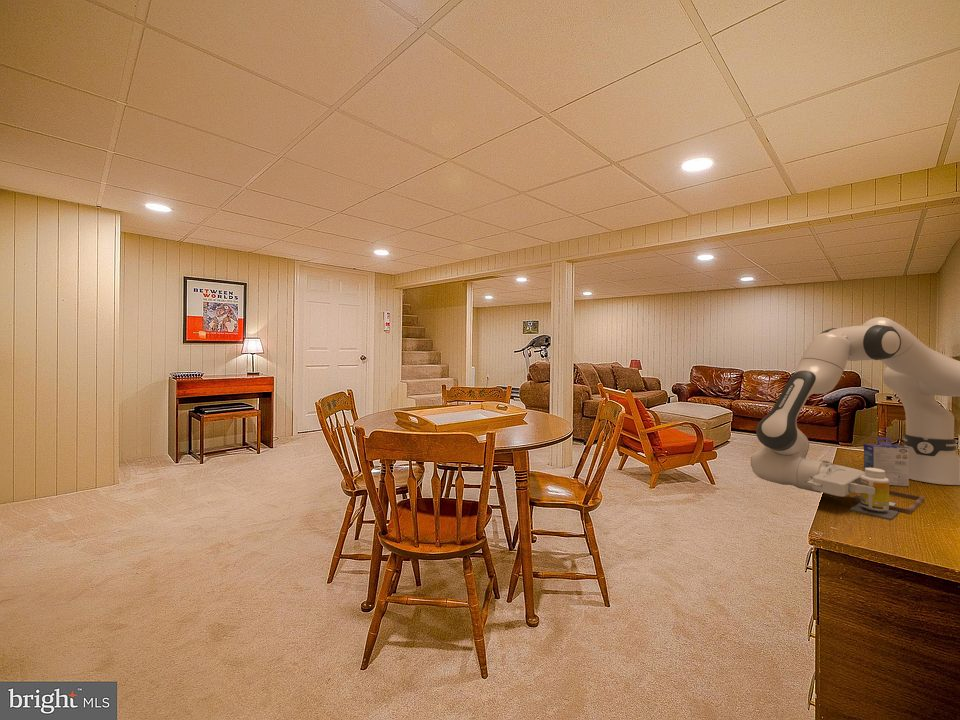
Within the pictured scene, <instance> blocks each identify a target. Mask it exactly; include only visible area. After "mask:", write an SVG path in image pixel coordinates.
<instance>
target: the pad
mask: <svg viewBox="0 0 960 720" xmlns="http://www.w3.org/2000/svg"><path fill="white" fill-rule="evenodd" d="M849 510H850V511H851V512H854V513H855V512H856V513H859V514H863V515H868V516H871V515H872V517H875V516H877V517H876V518H880V517H881V519H884V518H885V520H888V519H889V521H892V520H893V519H894V518H895V517H896V516H898V515H899V514H900V512H898V511H894V510H887V511H875V510H870V509H867V508H864V507H862V506H861V504H860V503H858V502H857V504H856V505H853V506H852V507H850V509H849Z"/></svg>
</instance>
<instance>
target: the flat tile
mask: <svg viewBox="0 0 960 720" xmlns="http://www.w3.org/2000/svg"><path fill="white" fill-rule="evenodd" d="M889 505H892V506H897V503H896V502H893V501H892V502H891V501H889Z"/></svg>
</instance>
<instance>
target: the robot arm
mask: <svg viewBox="0 0 960 720" xmlns="http://www.w3.org/2000/svg"><path fill="white" fill-rule="evenodd" d="M871 360H872V361H873V360H874V361H881V362H882V363H883V364H884V365H885V366H886V367H885V369H884V370H883V373H882V380H883V382H884V385H885V386H886V387H887V388H888V389H889V390H891V391H893V393H895V395H896V396H897V397H898V398H899V400H900V402H901V404H902V406H903V409H904V413H905V433H904V434H903V439H902V440H903V444H904V445H903V446H904V447H907V448H909V480H913V481H918V482H921V483H922V482H924V483H928V484H934V485H935V484H937V485H948V486H960V455H958V454H957V452H956V449H957V442H956V439H955V416H954V414H953V413H952V411H950V410H949V409H947V408H945V407H944V406H942V405H940V403H939V402H938V401H937V399H936V396H941V397H942V396H943V397H954V398H955V397H958V398H959V397H960V360H958V359H954V358H952V357H949V356H948V355H945V354H943V353H941V352H938V351H936V350H934V349H933V348H930V346H928V345H926V344H925V343H923V342H922V341H921V340H919V338H918V337H916V336H915V335H914V334H913V333H912V332H911V331H909V330H908V329H907V328H906V327H904V326H903V325H901V324H899V323H898V322H897V321H895V320H892V319H891V318H887V317H885V316H884V317H880V316H879V317H877V316H876V317H873V318H870V319H868V320H867V321H865V322H863V323H862V325H852V326H843V327H837V328H836V327H833V328H828V329H825V330H823V331H822V332H820V333H819V334H817V335H816V336H815V337H814V338H813V339H812V340H811V342H810V343H809V345H807V348H806V349H805V351H804V353H803V354H802V356H801V358H800V360H799V361H798V365H797V367H796V369H795V371H794V373H793V374H792V375H791V376H790V378H789V379H788V381H787V383H786V384H785V386H784V388H783V389H782V391H781V392H780V394H779V396H778V398H777V400H776V402H775V403H774V405H773V407H772V408H771V410H770V411H769V412H768V413H767V414H766V415H765V416H764V417H763V418H762V419H761V420H760V421H759V422H758V423H757V426H756V429H755V432H756V433H755V434H756V437H757V439H758V441H759V442H760V443H761V444H762V446H761V447H760V448H759V449H758V450H757V451H755V452H753V453H752V454H751V457H750V467H751V469H752V472H753V474H755V476H756V477H757V478H760V479H761V480H764V481H767V482H770V483H771V482H772V483H774V484H778V485H782V486H783V485H785V486H786V485H787V486H794V487H796V488H797V489H800V490H801V489H802V490H805V491H809V492H814V493H815V492H816V493H819V494H822V493H824V494H827V495H832V496H836V497H844V498H845V497H846V496H849V495H850V494H851V493H856V494H860V493H867V494H872V495H874V494H875V493H876V487H873V486H868V485H867V486H864V485H861V476H862V475H865V472H864V470H860V469H857V468H854V467H853V468H852V467H848V466H845V465H840V464H833V462H832V461H829V460H817V459H810V458H806V457H807V455H808V452H809V450H810V442H809V439H808V437H807V436H806V434H804V433H803V432H802V430H800V429H799V428H798V424H797V421H798V418H799V417H798V416H799V415H800V414H801V411H802V409H803V408H804V405H805V404H806V402H807V400H808V399H809V397H810V396H812V395H813V394H815V395H819V394H825V393H829V392H831V391H833V389H834V388H835V387H836V385H838V383H839V382H840V380H841V377H842V375H843V373H844V371H845V368H846V365H847V364H848V361H849V362H857V361H859V362H860V361H871Z"/></svg>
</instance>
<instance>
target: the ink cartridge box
mask: <svg viewBox="0 0 960 720" xmlns="http://www.w3.org/2000/svg"><path fill="white" fill-rule="evenodd" d="M881 440H886V441H881ZM876 442H877V443H863V471H864V472H865V468H877V469H882V470H884V471H885V478H887V479H888V480H889V486H899V487H900V486H901V487H902V486H903V487H909V485H910V484H909V483H910V481H909V480H910V479H909V448H907V447H904V446H905V445H900V444H893V443H892V441H891V439H890V437H882V436H881V437H879V436H876Z"/></svg>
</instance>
